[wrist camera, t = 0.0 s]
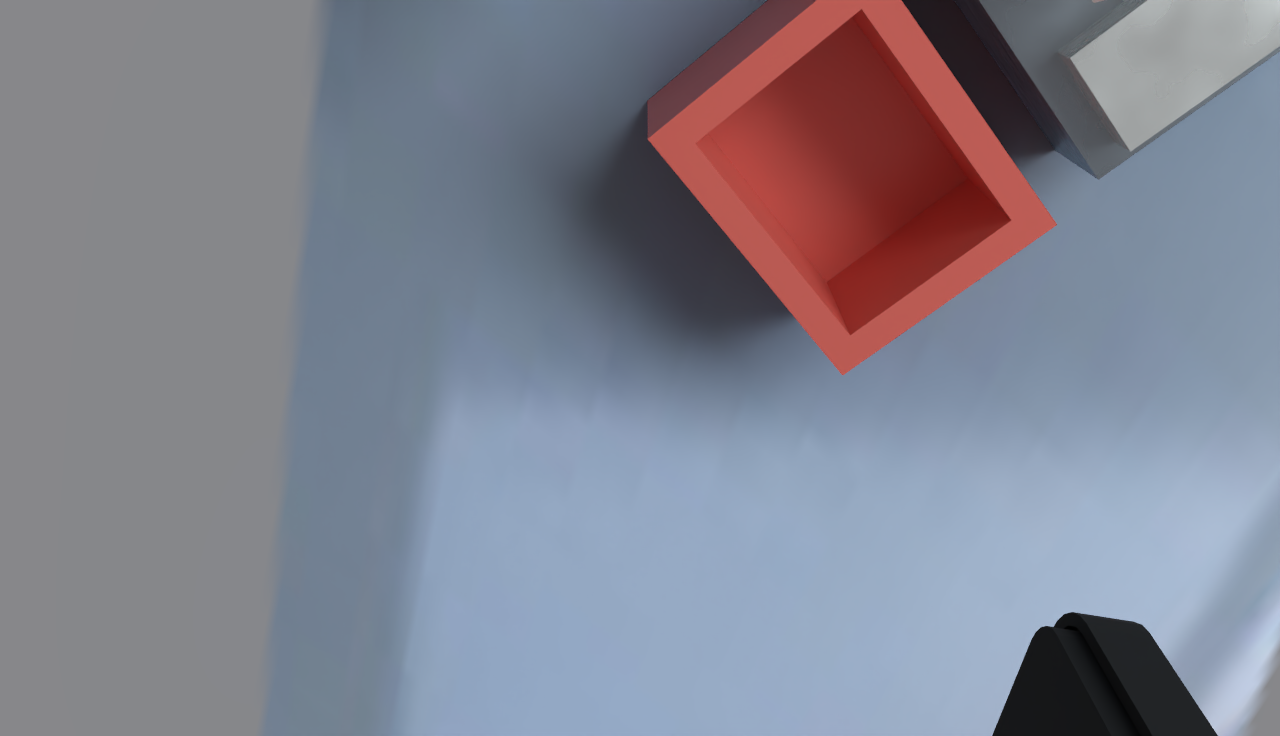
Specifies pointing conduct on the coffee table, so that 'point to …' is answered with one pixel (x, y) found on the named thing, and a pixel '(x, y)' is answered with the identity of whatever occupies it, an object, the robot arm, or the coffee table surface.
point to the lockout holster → (845, 167)
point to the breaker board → (1121, 64)
